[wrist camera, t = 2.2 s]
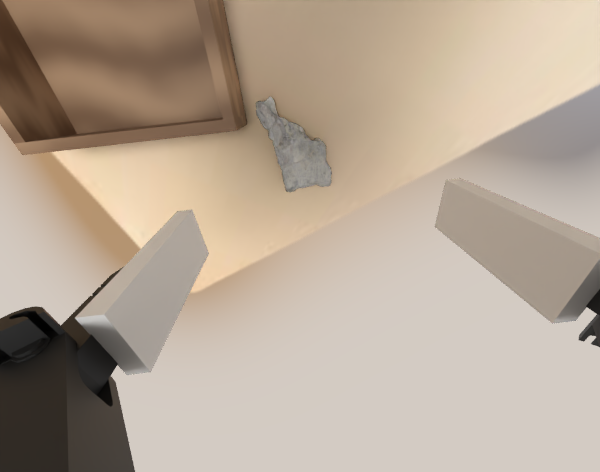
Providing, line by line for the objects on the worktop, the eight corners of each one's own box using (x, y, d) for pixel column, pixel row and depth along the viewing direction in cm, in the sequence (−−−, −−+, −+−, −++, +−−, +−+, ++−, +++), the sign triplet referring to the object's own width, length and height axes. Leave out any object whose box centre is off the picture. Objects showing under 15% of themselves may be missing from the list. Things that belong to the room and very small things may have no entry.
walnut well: (-26, -46, 19) (-166, -111, 13) (208, -72, 19) (174, -150, 13) (80, 142, 27) (22, 155, 21) (247, 123, 27) (236, 130, 21)
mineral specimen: (307, 85, 26) (311, 78, 22) (333, 182, 32) (341, 190, 28) (255, 105, 27) (251, 102, 23) (290, 198, 32) (291, 208, 28)
